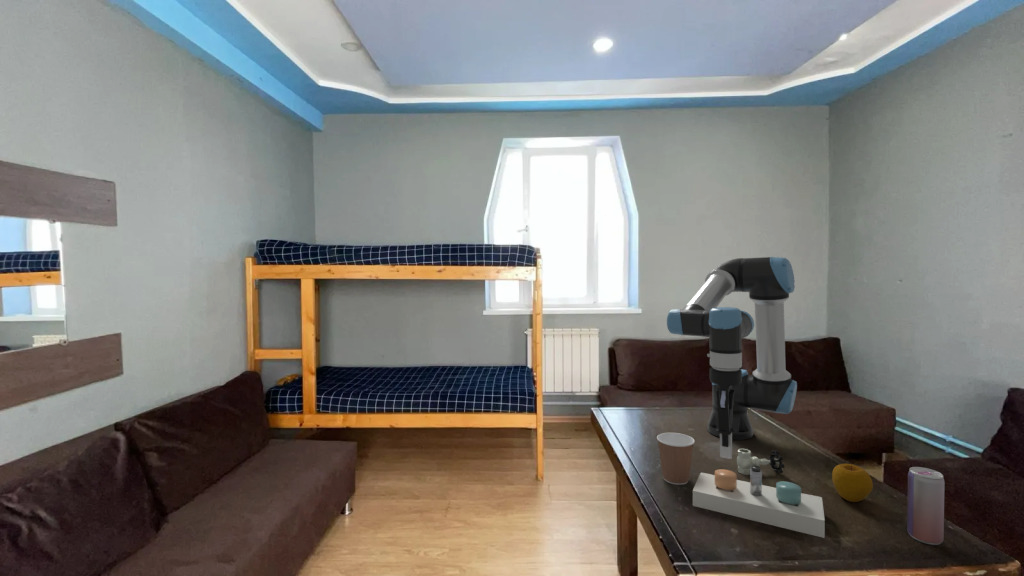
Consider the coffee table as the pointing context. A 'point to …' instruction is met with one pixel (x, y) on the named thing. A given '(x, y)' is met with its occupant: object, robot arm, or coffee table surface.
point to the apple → (851, 482)
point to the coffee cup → (675, 457)
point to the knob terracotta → (725, 479)
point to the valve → (757, 461)
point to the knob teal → (788, 492)
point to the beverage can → (925, 505)
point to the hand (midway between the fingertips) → (726, 456)
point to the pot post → (756, 481)
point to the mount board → (761, 506)
